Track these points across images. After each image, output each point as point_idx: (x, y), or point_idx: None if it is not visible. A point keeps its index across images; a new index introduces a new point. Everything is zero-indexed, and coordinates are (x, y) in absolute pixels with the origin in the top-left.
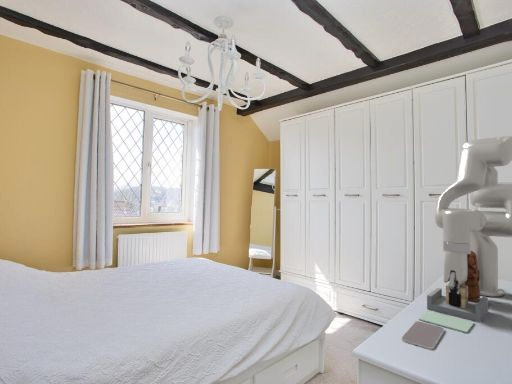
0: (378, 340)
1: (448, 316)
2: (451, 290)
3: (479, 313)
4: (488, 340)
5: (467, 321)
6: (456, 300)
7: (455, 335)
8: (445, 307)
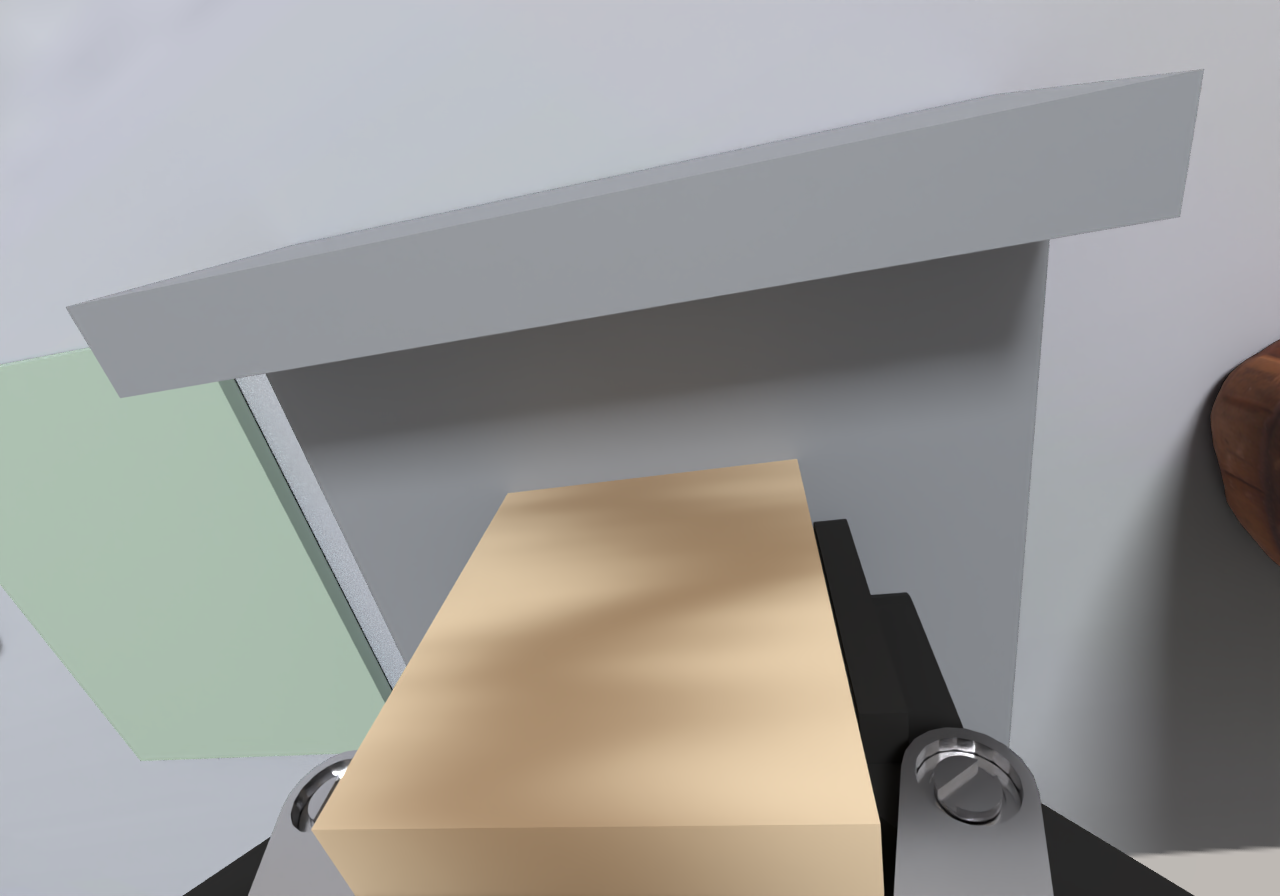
0: None
1: (295, 568)
2: (234, 891)
3: None
4: (211, 841)
5: (368, 714)
6: None
7: (24, 710)
8: (348, 542)
